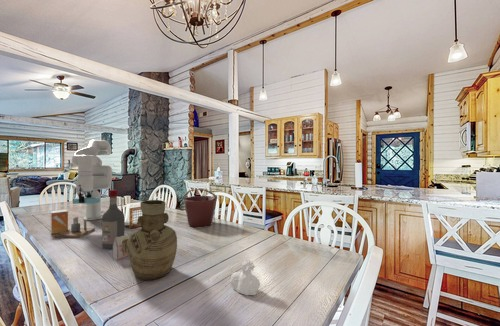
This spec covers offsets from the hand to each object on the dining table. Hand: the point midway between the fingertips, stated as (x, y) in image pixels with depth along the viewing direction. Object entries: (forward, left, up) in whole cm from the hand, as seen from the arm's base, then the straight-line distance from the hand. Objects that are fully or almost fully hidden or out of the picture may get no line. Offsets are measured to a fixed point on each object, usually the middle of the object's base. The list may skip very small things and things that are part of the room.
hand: (85, 201), depth 152 cm
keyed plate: (0, 0, -1) cm, 1 cm away
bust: (+66, +106, -18) cm, 126 cm away
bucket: (-16, +71, -18) cm, 75 cm away
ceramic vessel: (+55, +67, -18) cm, 89 cm away
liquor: (+27, +34, -18) cm, 47 cm away
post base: (+9, 0, -18) cm, 20 cm away
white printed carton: (+40, +46, -18) cm, 64 cm away
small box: (+5, -13, -18) cm, 23 cm away
